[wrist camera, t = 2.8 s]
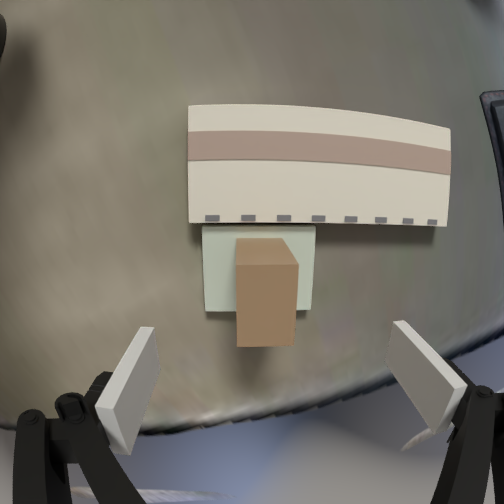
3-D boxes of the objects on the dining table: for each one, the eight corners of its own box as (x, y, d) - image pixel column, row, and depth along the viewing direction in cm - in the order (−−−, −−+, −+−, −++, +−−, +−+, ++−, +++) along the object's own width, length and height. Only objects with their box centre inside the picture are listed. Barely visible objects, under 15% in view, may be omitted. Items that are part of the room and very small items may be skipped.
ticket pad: (192, 219, 28) (188, 223, 26) (192, 110, 26) (188, 105, 24) (435, 223, 29) (446, 226, 27) (439, 130, 27) (450, 128, 25)
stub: (206, 306, 30) (195, 358, 21) (203, 225, 28) (187, 249, 19) (308, 305, 31) (332, 354, 22) (313, 224, 29) (344, 248, 20)
